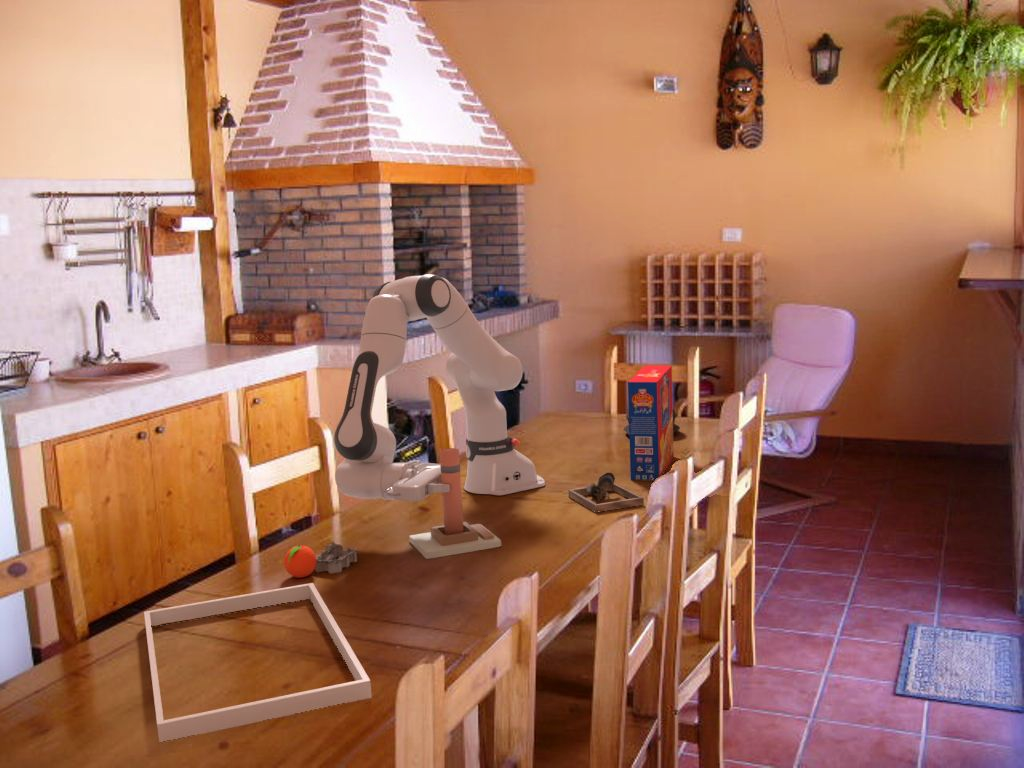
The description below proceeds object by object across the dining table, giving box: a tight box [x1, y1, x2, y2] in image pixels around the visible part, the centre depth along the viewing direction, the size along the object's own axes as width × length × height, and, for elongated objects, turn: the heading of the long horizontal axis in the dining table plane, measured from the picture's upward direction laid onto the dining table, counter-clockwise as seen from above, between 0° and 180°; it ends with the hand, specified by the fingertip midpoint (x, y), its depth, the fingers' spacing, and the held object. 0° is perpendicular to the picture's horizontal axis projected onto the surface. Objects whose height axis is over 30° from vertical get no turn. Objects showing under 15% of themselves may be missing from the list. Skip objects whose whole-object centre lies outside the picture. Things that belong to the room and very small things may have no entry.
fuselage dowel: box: [439, 447, 464, 535], centre depth 245 cm, size 4×4×20 cm
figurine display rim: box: [567, 482, 645, 513], centre depth 276 cm, size 14×17×2 cm
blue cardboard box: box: [627, 365, 675, 482], centre depth 305 cm, size 28×8×28 cm, turn 163°
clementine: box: [283, 544, 317, 579], centre depth 229 cm, size 8×7×7 cm
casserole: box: [623, 408, 681, 436], centre depth 350 cm, size 25×19×8 cm
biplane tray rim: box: [143, 582, 373, 743], centre depth 189 cm, size 33×50×3 cm, turn 21°
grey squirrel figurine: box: [586, 472, 616, 503], centre depth 279 cm, size 8×7×9 cm
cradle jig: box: [408, 521, 502, 560], centre depth 247 cm, size 18×14×4 cm
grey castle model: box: [314, 541, 359, 574], centre depth 237 cm, size 11×8×4 cm
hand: (454, 484), depth 245 cm, fingers closed on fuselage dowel, 4 cm apart
